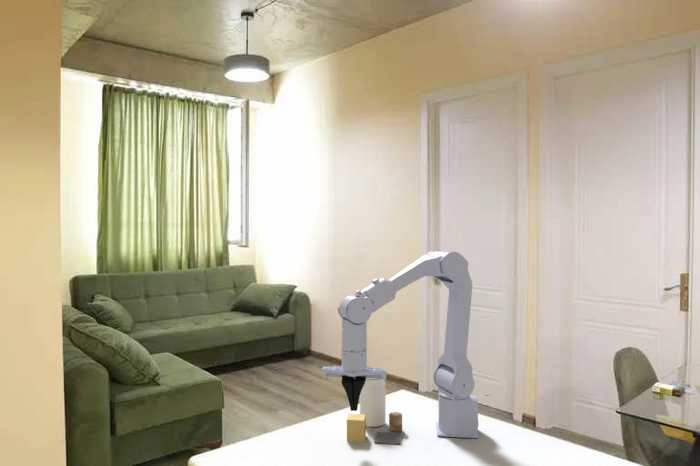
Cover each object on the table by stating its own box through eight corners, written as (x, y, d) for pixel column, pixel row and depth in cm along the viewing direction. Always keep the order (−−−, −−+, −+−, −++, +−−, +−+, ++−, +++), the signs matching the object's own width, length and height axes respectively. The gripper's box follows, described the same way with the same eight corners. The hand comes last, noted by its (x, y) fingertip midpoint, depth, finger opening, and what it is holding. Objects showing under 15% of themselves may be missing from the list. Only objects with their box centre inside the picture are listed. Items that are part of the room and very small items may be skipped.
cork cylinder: (402, 428, 131) (402, 412, 131) (401, 433, 128) (402, 417, 128) (389, 427, 132) (389, 411, 132) (388, 432, 129) (388, 416, 129)
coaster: (401, 434, 128) (401, 432, 128) (400, 444, 122) (400, 442, 122) (376, 433, 128) (376, 431, 128) (374, 443, 122) (374, 441, 122)
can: (386, 428, 132) (386, 379, 132) (359, 427, 132) (359, 379, 132) (384, 418, 138) (384, 372, 138) (359, 418, 138) (360, 372, 138)
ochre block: (365, 435, 127) (365, 414, 127) (363, 442, 123) (363, 420, 123) (349, 434, 128) (349, 413, 128) (346, 441, 124) (346, 419, 124)
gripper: (319, 352, 117) (319, 413, 117) (385, 354, 115) (384, 416, 115) (324, 345, 124) (324, 403, 124) (387, 347, 122) (386, 406, 122)
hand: (354, 409), depth 120 cm, fingers closed
